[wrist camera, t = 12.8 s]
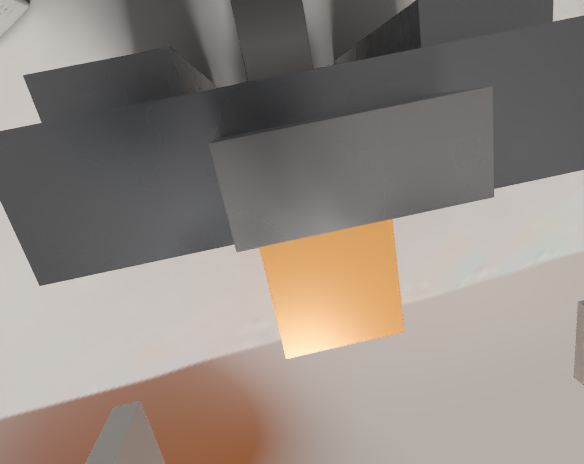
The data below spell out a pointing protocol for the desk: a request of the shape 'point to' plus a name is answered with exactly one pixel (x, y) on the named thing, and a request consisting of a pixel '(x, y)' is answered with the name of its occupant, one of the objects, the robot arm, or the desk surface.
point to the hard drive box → (11, 12)
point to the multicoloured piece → (324, 247)
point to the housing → (292, 139)
